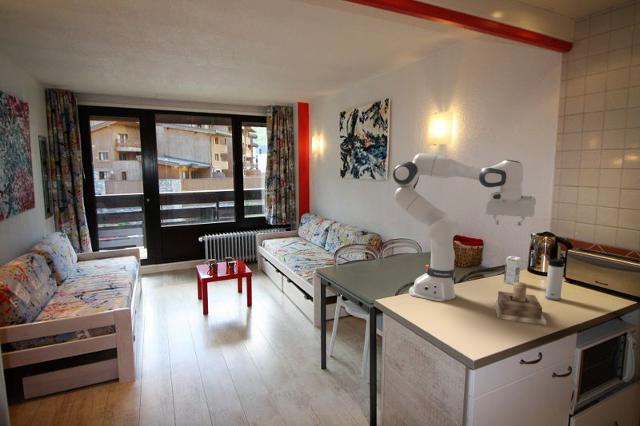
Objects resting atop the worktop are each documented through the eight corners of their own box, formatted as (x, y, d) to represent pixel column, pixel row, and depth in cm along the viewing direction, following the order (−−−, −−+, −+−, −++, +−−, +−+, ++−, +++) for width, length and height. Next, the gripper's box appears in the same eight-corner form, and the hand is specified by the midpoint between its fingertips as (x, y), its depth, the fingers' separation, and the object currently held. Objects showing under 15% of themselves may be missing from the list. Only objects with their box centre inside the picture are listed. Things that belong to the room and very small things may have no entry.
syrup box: (508, 280, 206) (510, 255, 204) (519, 283, 201) (521, 257, 199) (503, 282, 202) (505, 257, 200) (514, 285, 198) (516, 259, 195)
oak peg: (512, 311, 161) (514, 285, 159) (510, 306, 166) (512, 281, 164) (525, 313, 159) (528, 286, 157) (523, 308, 164) (525, 282, 162)
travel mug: (554, 301, 176) (558, 261, 173) (542, 296, 182) (546, 257, 179) (564, 300, 177) (568, 260, 174) (552, 295, 184) (556, 256, 181)
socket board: (497, 318, 157) (498, 304, 156) (493, 302, 174) (494, 289, 173) (545, 324, 151) (547, 310, 150) (536, 308, 168) (538, 294, 167)
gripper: (534, 195, 168) (532, 225, 170) (485, 194, 175) (483, 222, 177) (537, 197, 162) (534, 227, 164) (487, 195, 169) (485, 224, 171)
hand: (508, 225), depth 171 cm, fingers open, 8 cm apart
